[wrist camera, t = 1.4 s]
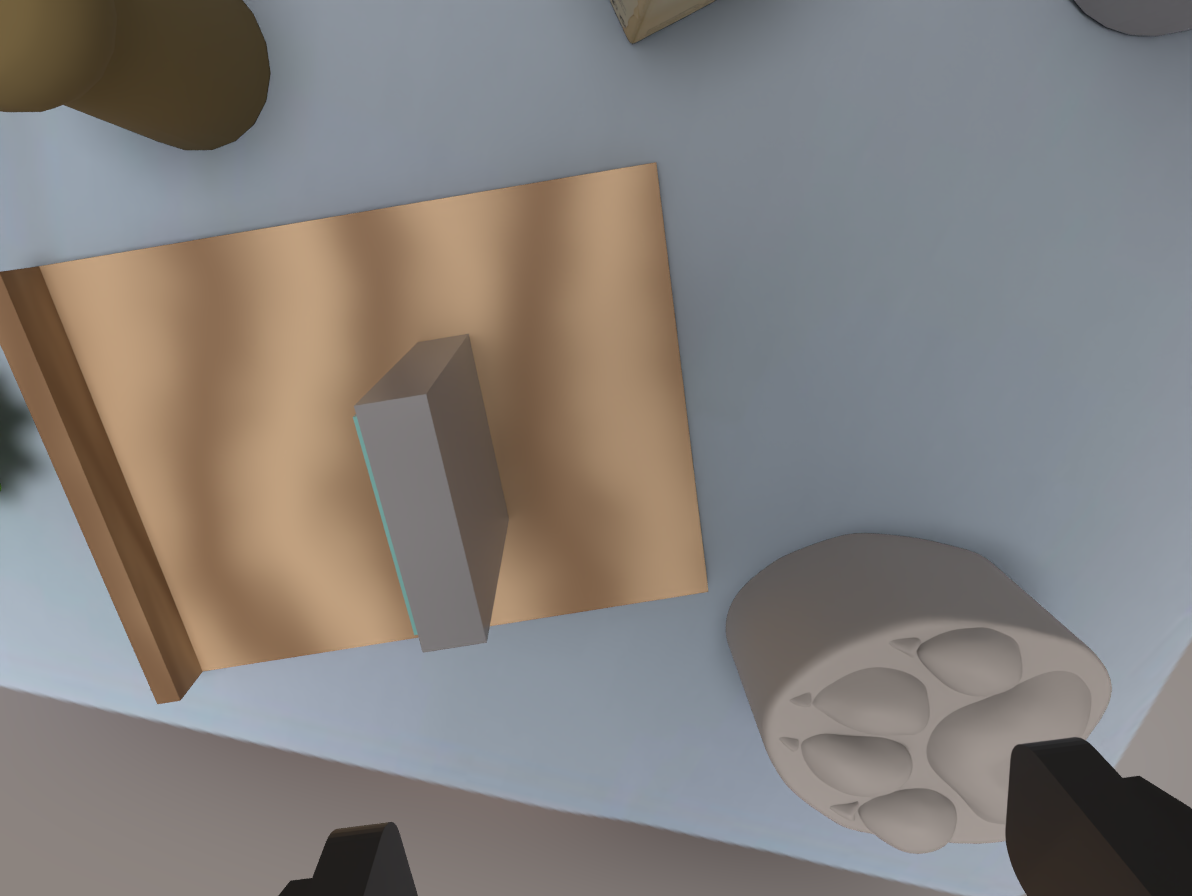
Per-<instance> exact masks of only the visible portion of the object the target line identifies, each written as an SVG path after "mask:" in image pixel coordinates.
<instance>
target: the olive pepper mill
mask: <svg viewBox="0 0 1192 896" xmlns="http://www.w3.org/2000/svg"><path fill="white" fill-rule="evenodd" d="M269 79H270V67H269V60H268V53H267V46H266V42H265V40H264V37H263V35H262V33H261V30H260V28H259V26H258V24H257V21H256V19H255V17H254V14H253V13H252V12H251V10H250V9H249V8H248V7H247V5H246V4H245V3H244V2H243V0H0V111H3V112H42V111H46V110H49V109H53V108H56V107H58V106H61V105H65V106H68V107H70V108H73V109H75V110H78V111H81V112H83V113H86V114H88V115H91V116H93V117H96V118H99V119H101V120H104V121H106V122H109V123H112V124H114V125H117V126H119V127H122V128H124V129H127V130H130V131H132V132H135V133H137V134H140V135H143V136H145V137H148V138H150V139H153V140H155V141H158V142H161V143H164V144H167V145H171V146H174V147H177V148H180V149H183V150H213V149H216V148H218V147H221V146H224V145H226V144H229V143H231V142H234V141H236V140H237V139H238V138H239V137H240V136H241V135H243V134H244V133H245V132H246V131H247V130H248V129H249V128H250V127H251V126H253V125H254V123H255V121H256V119H257V117H258V116H259V114H260V112H261V110H262V108H263V106H264V104H265V102H266V98H267V92H268V85H269Z"/></svg>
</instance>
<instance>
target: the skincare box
mask: <svg viewBox="0 0 1192 896" xmlns="http://www.w3.org/2000/svg"><path fill="white" fill-rule="evenodd" d="M610 1H611V4H612V6H613V8H614V10H615V12H616V15H617V17H618V19H619V21H620V23H621V25H622V27H623V30H624V32H625V34H626V36H627V38H628V40H629V42H630V43H632V44H633V43H636V42H638V41H640V40H642V39H643V38H645V37H647V36H649V35H651V34H653V33H655V32H657V31H658V30H660V29H662V28H664V27H666V26H668V25H670V24H672V23H674V22H676V21H678V20H680V19H682V18H684V17H686V16H687V15H689V14H691V13H693V12H695V11H697V10H699V9H700V8H702V7H704V6H706V5H708V4H710V3H712V2H713V1H715V0H610Z"/></svg>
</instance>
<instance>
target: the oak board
mask: <svg viewBox="0 0 1192 896" xmlns="http://www.w3.org/2000/svg"><path fill="white" fill-rule="evenodd" d="M463 334H469V337H470V342H471V347H472V351H473V356H474V360H475V365H476V369H477V374H478V379H479V383H480V388H481V392H482V397H483V402H484V406H485V411H486V415H487V420H488V424H489V429H490V434H491V438H492V443H493V447H494V452H495V457H496V461H497V466H498V470H499V475H500V480H501V484H502V489H503V493H504V498H505V502H506V507H507V512H508V516H509V523H508V528H507V534H506V539H505V545H504V550H503V556H502V561H501V567H500V572H499V578H498V583H497V589H496V594H495V600H494V606H493V611H492V617H491V622H490V626H494V625H500V624H507V623H513V622H520V621H526V620H532V619H539V618H545V617H551V616H558V615H564V614H570V613H577V612H583V611H589V610H596V609H602V608H608V607H615V606H621V605H627V604H634V603H640V602H646V601H653V600H659V599H666V598H672V597H678V596H685V595H691V594H697V593H704V592H708V584H707V576H706V568H705V559H704V551H703V543H702V535H701V527H700V518H699V510H698V502H697V494H696V486H695V477H694V469H693V461H692V453H691V445H690V436H689V428H688V420H687V412H686V403H685V395H684V387H683V379H682V371H681V362H680V354H679V346H678V338H677V330H676V321H675V313H674V305H673V297H672V289H671V280H670V272H669V264H668V256H667V247H666V239H665V231H664V223H663V215H662V206H661V198H660V190H659V182H658V174H657V165H656V163H650V164H644V165H638V166H632V167H626V168H620V169H614V170H608V171H602V172H596V173H590V174H585V175H579V176H573V177H567V178H561V179H555V180H549V181H543V182H537V183H531V184H525V185H519V186H513V187H507V188H501V189H496V190H490V191H484V192H478V193H472V194H466V195H460V196H454V197H448V198H442V199H436V200H430V201H424V202H418V203H412V204H406V205H401V206H395V207H389V208H383V209H377V210H371V211H365V212H359V213H353V214H347V215H341V216H335V217H329V218H323V219H317V220H312V221H306V222H300V223H294V224H288V225H282V226H276V227H270V228H264V229H258V230H252V231H246V232H240V233H234V234H228V235H222V236H217V237H211V238H205V239H199V240H193V241H187V242H181V243H175V244H169V245H163V246H157V247H151V248H145V249H139V250H133V251H128V252H122V253H116V254H110V255H104V256H98V257H92V258H86V259H80V260H74V261H68V262H62V263H56V264H50V265H44V266H38V267H31V268H24V269H17V270H10V271H3V272H0V345H1V347H2V349H3V351H4V354H5V356H6V358H7V361H8V363H9V365H10V368H11V370H12V372H13V374H14V377H15V379H16V381H17V384H18V386H19V388H20V390H21V393H22V395H23V397H24V400H25V402H26V404H27V406H28V409H29V411H30V413H31V416H32V418H33V420H34V422H35V425H36V427H37V429H38V432H39V434H40V436H41V439H42V441H43V443H44V445H45V448H46V450H47V452H48V455H49V457H50V459H51V461H52V464H53V466H54V468H55V471H56V473H57V475H58V477H59V480H60V482H61V484H62V487H63V489H64V491H65V494H66V496H67V498H68V500H69V503H70V505H71V507H72V510H73V512H74V514H75V516H76V519H77V521H78V523H79V526H80V528H81V530H82V532H83V535H84V537H85V539H86V542H87V544H88V546H89V549H90V551H91V553H92V555H93V558H94V560H95V562H96V565H97V567H98V569H99V571H100V574H101V576H102V578H103V581H104V583H105V585H106V587H107V590H108V592H109V594H110V597H111V599H112V601H113V604H114V606H115V608H116V610H117V613H118V615H119V617H120V620H121V622H122V624H123V626H124V629H125V631H126V633H127V636H128V638H129V640H130V642H131V645H132V647H133V649H134V652H135V654H136V656H137V659H138V661H139V663H140V665H141V668H142V670H143V672H144V675H145V677H146V679H147V681H148V684H149V686H150V688H151V691H152V693H153V695H154V697H155V700H156V702H157V704H162V703H168V702H174V701H180V700H181V699H182V698H183V697H184V695H185V694H186V693H187V691H188V690H189V689H190V687H191V686H192V685H193V683H194V682H195V681H196V679H197V678H198V677H199V676H200V674H201V673H202V672H203V671H208V670H215V669H221V668H227V667H234V666H240V665H247V664H253V663H259V662H266V661H272V660H278V659H285V658H291V657H297V656H304V655H310V654H316V653H323V652H329V651H335V650H342V649H348V648H354V647H361V646H367V645H373V644H380V643H386V642H393V641H399V640H405V639H412V638H418V635H414V632H413V629H412V625H411V622H410V618H409V614H408V611H407V607H406V604H405V600H404V597H403V593H402V590H401V586H400V583H399V579H398V576H397V572H396V568H395V565H394V561H393V558H392V554H391V551H390V547H389V544H388V540H387V537H386V533H385V530H384V526H383V522H382V519H381V515H380V512H379V508H378V505H377V501H376V498H375V494H374V491H373V487H372V483H371V480H370V476H369V473H368V469H367V466H366V462H365V459H364V455H363V452H362V448H361V445H360V441H359V437H358V434H357V430H356V427H355V423H354V420H353V416H354V415H355V414H356V412H355V409H354V405H355V404H356V403H357V402H358V401H359V400H360V399H361V398H362V397H363V396H364V395H365V394H366V393H367V392H368V391H369V390H370V389H371V388H372V387H373V386H374V385H375V384H376V383H377V382H378V381H379V380H380V379H381V378H382V377H383V376H384V375H385V374H386V373H387V372H388V371H389V370H390V369H391V368H392V367H393V366H394V365H395V364H396V363H397V362H398V361H399V360H400V359H401V358H402V357H403V356H404V355H405V354H406V353H407V352H408V351H409V350H410V349H411V348H412V347H413V346H414V345H415V344H416V343H417V342H421V341H427V340H433V339H439V338H445V337H451V336H457V335H463Z"/></svg>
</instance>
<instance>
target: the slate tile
mask: <svg viewBox="0 0 1192 896" xmlns="http://www.w3.org/2000/svg"><path fill="white" fill-rule="evenodd" d="M354 409H355V412H356V414H355V415H354V416H353V420H354V423H355V427H356V430H357V434H358V437H359V441H360V445H361V448H362V452H363V455H364V459H365V462H366V466H367V469H368V473H369V476H370V480H371V483H372V487H373V491H374V494H375V498H376V501H377V505H378V508H379V512H380V515H381V519H382V522H383V526H384V530H385V533H386V537H387V540H388V544H389V547H390V551H391V554H392V558H393V561H394V565H395V568H396V572H397V576H398V579H399V583H400V586H401V590H402V593H403V597H404V600H405V604H406V607H407V611H408V614H409V618H410V622H411V625H412V629H413V632H414V635H418V637H419V640H420V644H421V648H422V651H423V652H430V651H436V650H442V649H449V648H455V647H461V646H468V645H474V644H480V643H487V639H488V633H489V628H490V622H491V617H492V611H493V606H494V600H495V594H496V589H497V583H498V578H499V572H500V567H501V561H502V556H503V550H504V545H505V539H506V534H507V528H508V523H509V516H508V512H507V507H506V502H505V498H504V493H503V489H502V484H501V480H500V475H499V470H498V466H497V461H496V457H495V452H494V447H493V443H492V438H491V434H490V429H489V424H488V420H487V415H486V411H485V406H484V402H483V397H482V392H481V388H480V383H479V379H478V374H477V369H476V365H475V360H474V356H473V351H472V347H471V342H470V337H469V334H463V335H457V336H451V337H445V338H439V339H433V340H427V341H421V342H417V343H416V344H415V345H414V346H413V347H412V348H411V349H410V350H409V351H408V352H407V353H406V354H405V355H404V356H403V357H402V358H401V359H400V360H399V361H398V362H397V363H396V364H395V365H394V366H393V367H392V368H391V369H390V370H389V371H388V372H387V373H386V374H385V375H384V376H383V377H382V378H381V379H380V380H379V381H378V382H377V383H376V384H375V385H374V386H373V387H372V388H371V389H370V390H369V391H368V392H367V393H366V394H365V395H364V396H363V397H362V398H361V399H360V400H359V401H358V402H357V403H356V404H355V405H354Z"/></svg>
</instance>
